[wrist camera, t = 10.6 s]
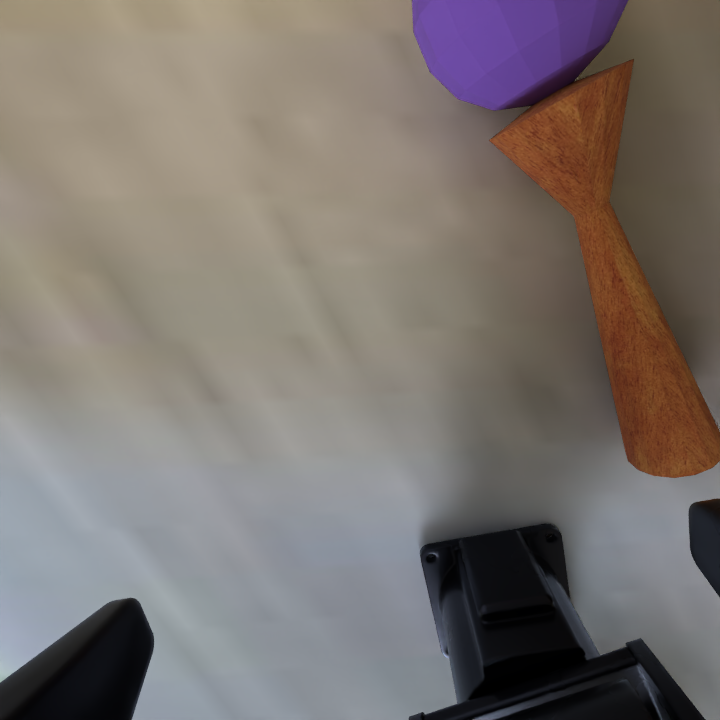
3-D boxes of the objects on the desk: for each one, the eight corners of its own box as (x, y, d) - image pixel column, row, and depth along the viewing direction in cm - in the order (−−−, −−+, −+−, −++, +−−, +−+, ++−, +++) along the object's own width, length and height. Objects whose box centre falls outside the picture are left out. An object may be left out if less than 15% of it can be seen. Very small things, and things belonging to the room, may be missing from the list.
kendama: (621, 522, 16) (361, -116, 10) (574, 431, 21) (388, -16, 15) (823, 474, 14) (643, -355, 8) (713, 387, 19) (560, -143, 13)
